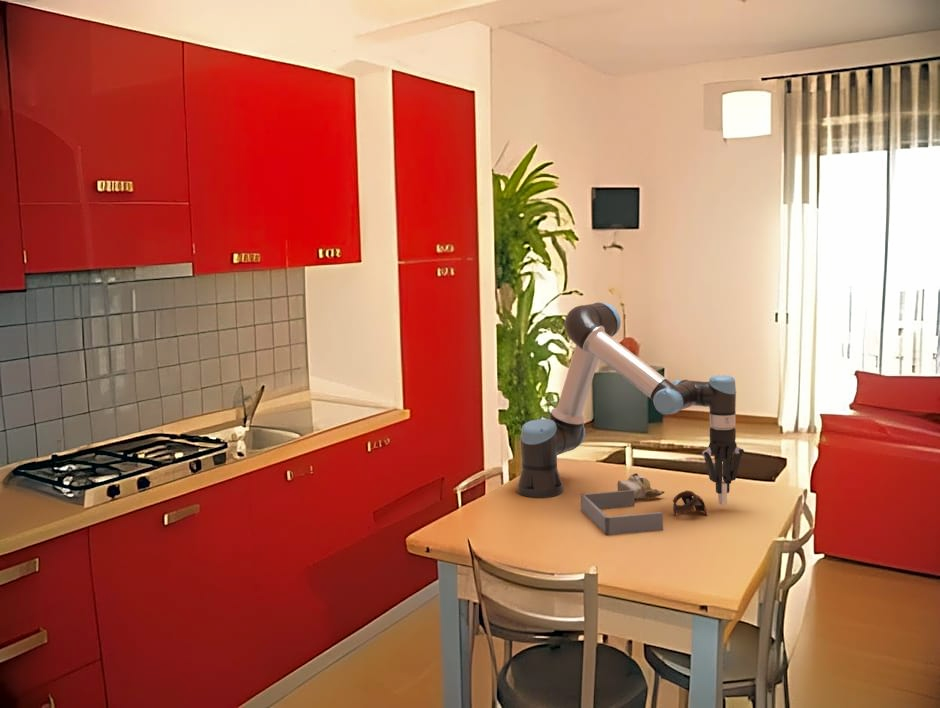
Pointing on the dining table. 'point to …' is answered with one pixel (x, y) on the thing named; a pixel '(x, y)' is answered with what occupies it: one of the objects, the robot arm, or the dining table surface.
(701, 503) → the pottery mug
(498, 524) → the dining table surface
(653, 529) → the walled box
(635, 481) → the ceramic sculpture
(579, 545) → the dining table surface
